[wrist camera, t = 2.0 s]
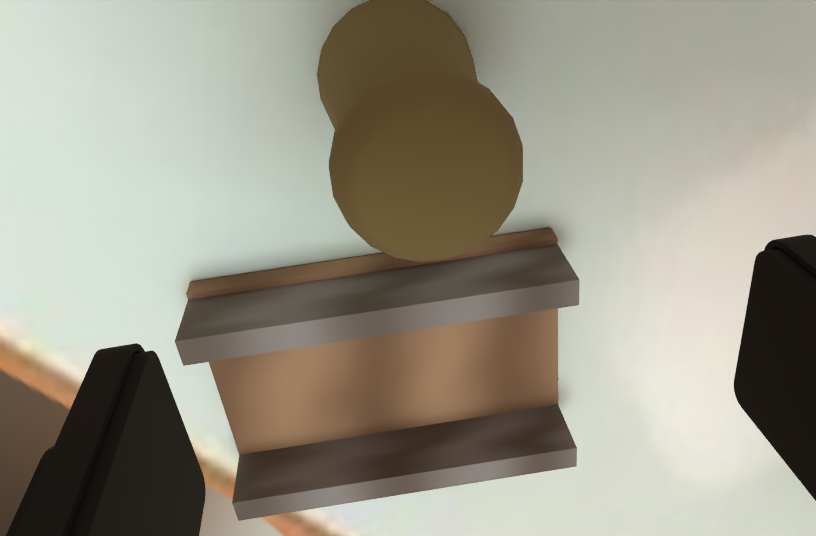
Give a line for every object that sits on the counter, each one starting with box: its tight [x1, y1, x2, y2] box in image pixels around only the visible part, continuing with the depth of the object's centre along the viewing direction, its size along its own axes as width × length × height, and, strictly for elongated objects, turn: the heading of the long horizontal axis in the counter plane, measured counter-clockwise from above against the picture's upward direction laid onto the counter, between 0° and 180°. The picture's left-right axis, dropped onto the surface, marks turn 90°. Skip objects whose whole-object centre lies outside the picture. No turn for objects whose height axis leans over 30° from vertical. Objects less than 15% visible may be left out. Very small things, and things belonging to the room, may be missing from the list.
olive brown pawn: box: [317, 0, 523, 262], centre depth 22 cm, size 6×6×11 cm
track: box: [175, 228, 579, 520], centre depth 31 cm, size 16×11×4 cm
